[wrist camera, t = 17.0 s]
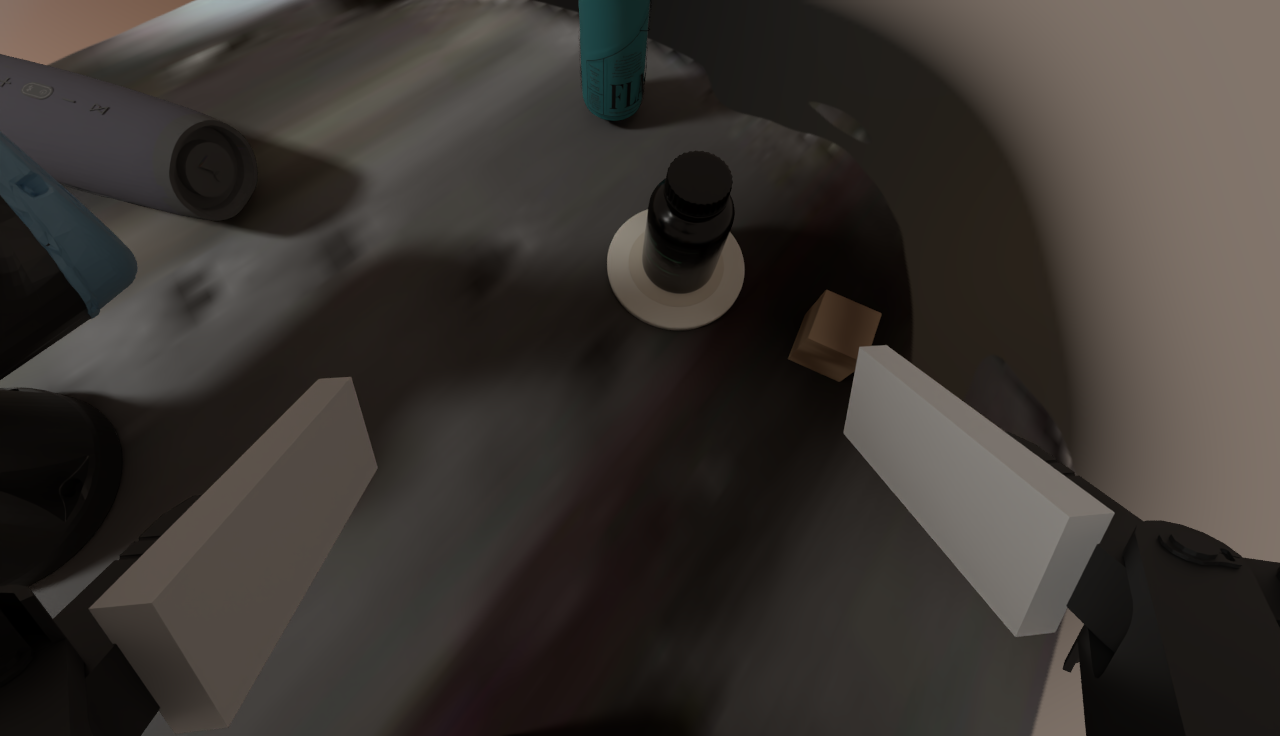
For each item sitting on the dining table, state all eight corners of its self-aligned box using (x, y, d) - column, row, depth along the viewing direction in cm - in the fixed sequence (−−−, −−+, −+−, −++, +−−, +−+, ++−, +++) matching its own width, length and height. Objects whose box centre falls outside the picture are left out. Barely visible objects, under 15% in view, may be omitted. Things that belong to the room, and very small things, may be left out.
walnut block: (787, 359, 47) (807, 338, 42) (804, 314, 49) (826, 289, 44) (838, 382, 46) (865, 363, 42) (854, 336, 48) (881, 313, 43)
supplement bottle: (686, 221, 50) (710, 125, 39) (728, 274, 48) (766, 190, 37) (627, 252, 48) (634, 162, 37) (668, 309, 47) (688, 232, 35)
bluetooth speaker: (283, 172, 50) (209, 85, 41) (231, 251, 47) (137, 176, 37) (67, 110, 51) (-55, 9, 41) (2, 183, 48) (-147, 93, 38)
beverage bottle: (607, 143, 54) (608, -77, 35) (569, 103, 55) (550, -130, 36) (655, 115, 55) (681, -110, 36) (616, 76, 57) (623, -159, 38)
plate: (578, 264, 49) (577, 259, 48) (673, 188, 52) (674, 182, 51) (677, 358, 46) (678, 354, 45) (769, 271, 50) (772, 266, 49)
